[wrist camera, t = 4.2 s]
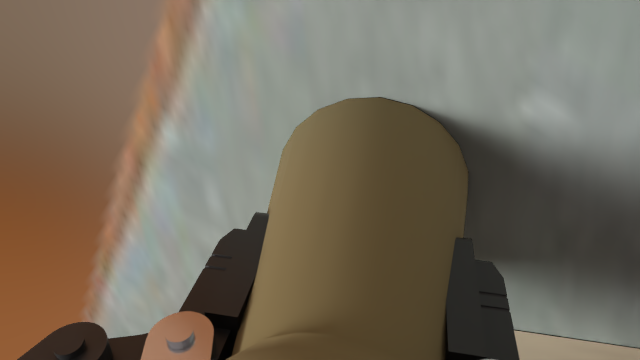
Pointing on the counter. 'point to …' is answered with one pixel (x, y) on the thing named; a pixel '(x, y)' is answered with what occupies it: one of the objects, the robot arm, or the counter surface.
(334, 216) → the olive knobbed peg
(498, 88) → the counter surface
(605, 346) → the ash block
